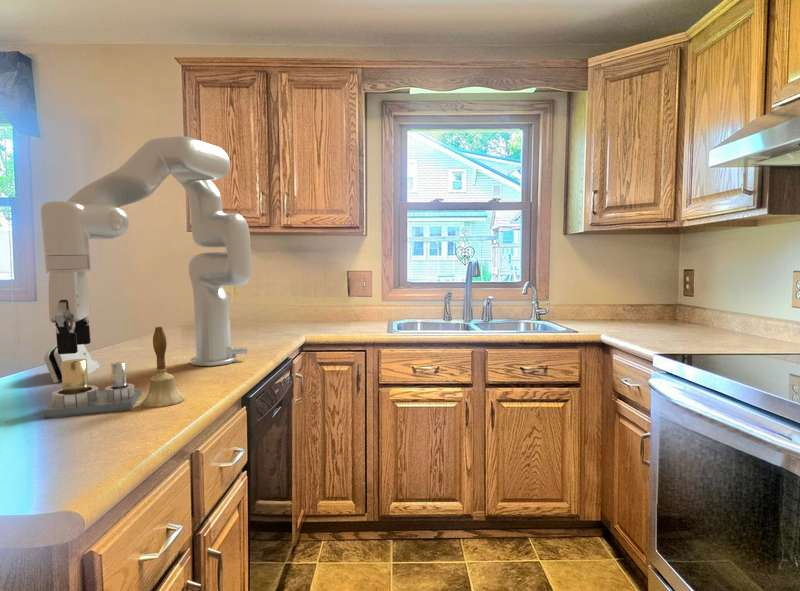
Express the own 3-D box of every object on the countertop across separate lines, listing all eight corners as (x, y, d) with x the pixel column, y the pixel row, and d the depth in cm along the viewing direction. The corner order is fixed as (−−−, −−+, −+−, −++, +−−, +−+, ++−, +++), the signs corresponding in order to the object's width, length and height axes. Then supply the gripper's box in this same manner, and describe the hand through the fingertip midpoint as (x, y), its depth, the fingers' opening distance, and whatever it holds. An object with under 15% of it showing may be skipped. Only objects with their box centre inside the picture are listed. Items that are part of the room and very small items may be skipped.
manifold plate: (141, 394, 112) (139, 356, 111) (131, 409, 100) (129, 368, 100) (62, 401, 107) (60, 361, 106) (43, 418, 95) (40, 374, 95)
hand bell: (141, 409, 100) (137, 331, 99) (141, 399, 108) (137, 325, 106) (186, 403, 104) (183, 327, 103) (183, 394, 112) (180, 323, 110)
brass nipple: (91, 395, 105) (89, 358, 105) (85, 401, 101) (83, 362, 100) (67, 398, 104) (64, 359, 103) (60, 403, 100) (58, 363, 99)
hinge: (76, 381, 123) (58, 344, 122) (56, 389, 123) (37, 352, 121) (100, 367, 140) (85, 334, 138) (83, 373, 139) (67, 340, 137)
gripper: (60, 263, 107) (66, 342, 109) (30, 266, 91) (38, 359, 92) (100, 262, 109) (105, 339, 111) (77, 265, 93) (85, 355, 95)
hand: (75, 348), depth 102 cm, fingers open, 9 cm apart
